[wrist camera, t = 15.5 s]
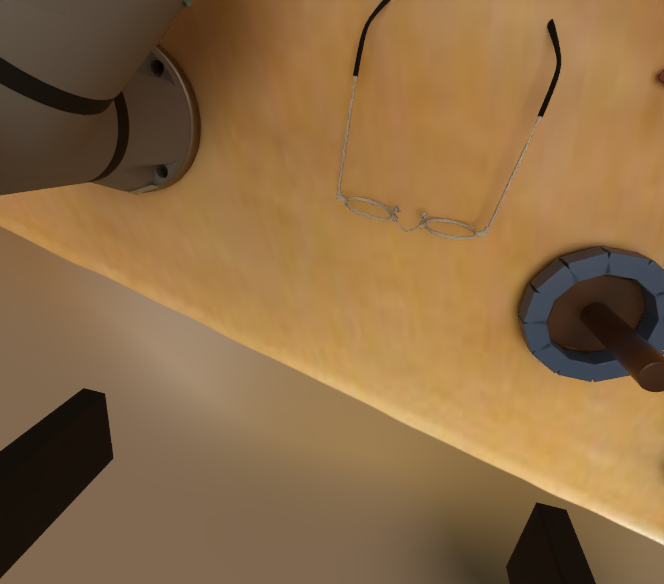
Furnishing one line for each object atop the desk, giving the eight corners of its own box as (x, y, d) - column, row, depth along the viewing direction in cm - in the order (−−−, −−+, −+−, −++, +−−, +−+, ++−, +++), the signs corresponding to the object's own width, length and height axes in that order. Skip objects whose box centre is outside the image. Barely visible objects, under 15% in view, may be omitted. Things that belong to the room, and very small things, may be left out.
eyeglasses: (332, 203, 40) (321, 211, 36) (377, -13, 33) (370, -37, 28) (485, 242, 39) (494, 256, 34) (569, 24, 31) (595, 5, 27)
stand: (536, 336, 41) (580, 408, 30) (563, 266, 38) (622, 318, 27) (617, 352, 40) (691, 432, 29) (651, 281, 37) (749, 341, 26)
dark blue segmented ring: (503, 353, 42) (507, 364, 40) (545, 236, 37) (553, 242, 35) (632, 381, 40) (644, 393, 38) (696, 262, 35) (713, 270, 33)
